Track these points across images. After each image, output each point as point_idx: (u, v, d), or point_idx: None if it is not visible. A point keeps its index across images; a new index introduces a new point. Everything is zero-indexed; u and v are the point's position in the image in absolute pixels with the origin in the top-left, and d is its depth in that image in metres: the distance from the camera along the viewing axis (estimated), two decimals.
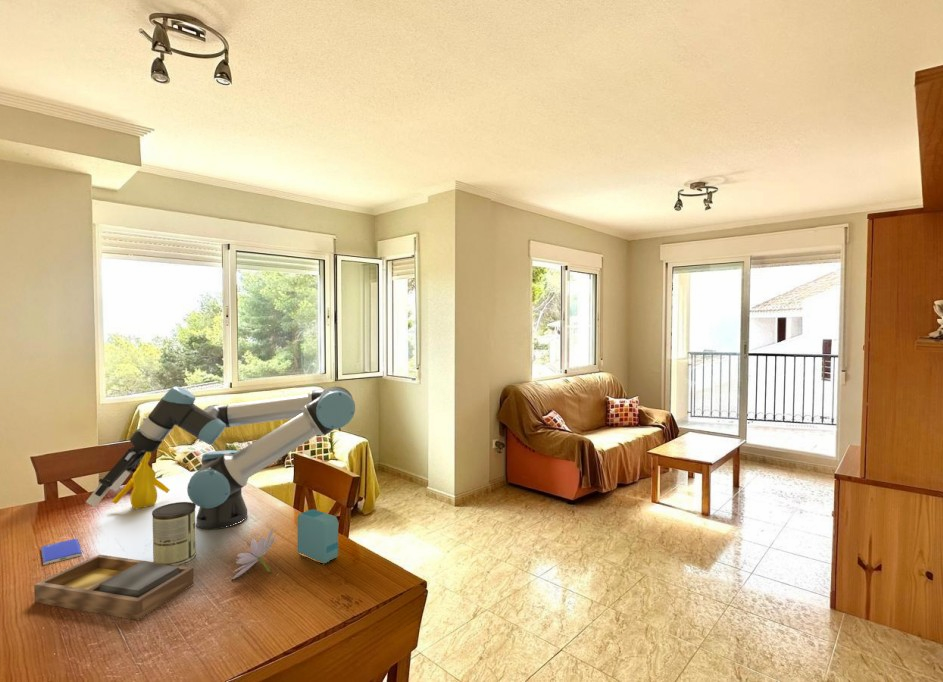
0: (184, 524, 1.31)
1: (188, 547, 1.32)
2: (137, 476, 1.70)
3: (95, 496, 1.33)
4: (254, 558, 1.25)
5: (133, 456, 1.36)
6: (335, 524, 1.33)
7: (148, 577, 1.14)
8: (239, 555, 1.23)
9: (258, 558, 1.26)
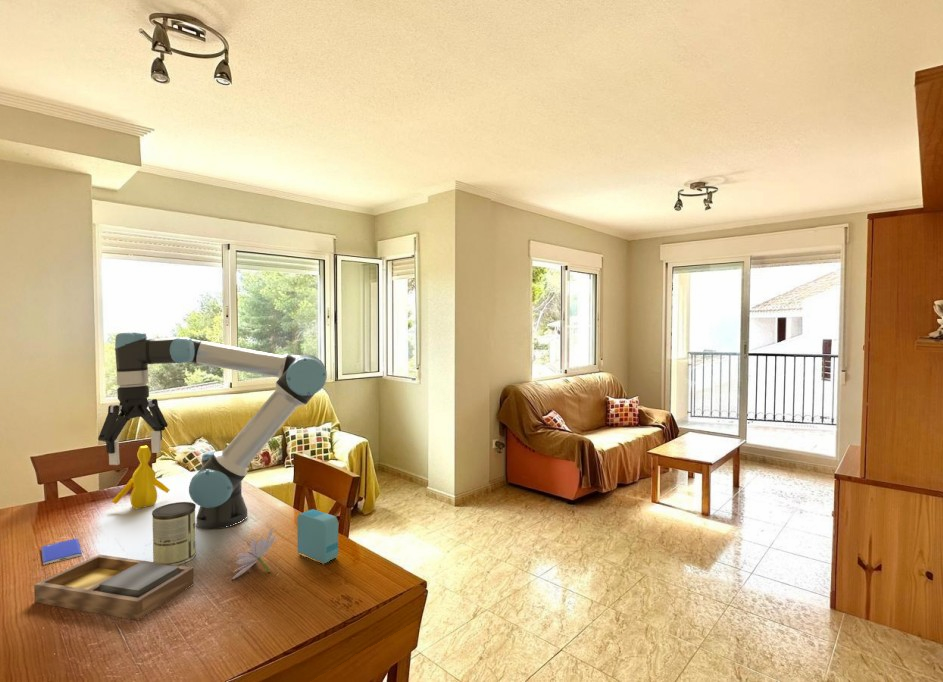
0: (184, 524, 1.31)
1: (188, 547, 1.32)
2: (137, 476, 1.70)
3: (112, 455, 1.34)
4: (254, 558, 1.25)
5: (115, 406, 1.34)
6: (335, 524, 1.33)
7: (148, 577, 1.14)
8: (239, 555, 1.23)
9: (258, 558, 1.26)
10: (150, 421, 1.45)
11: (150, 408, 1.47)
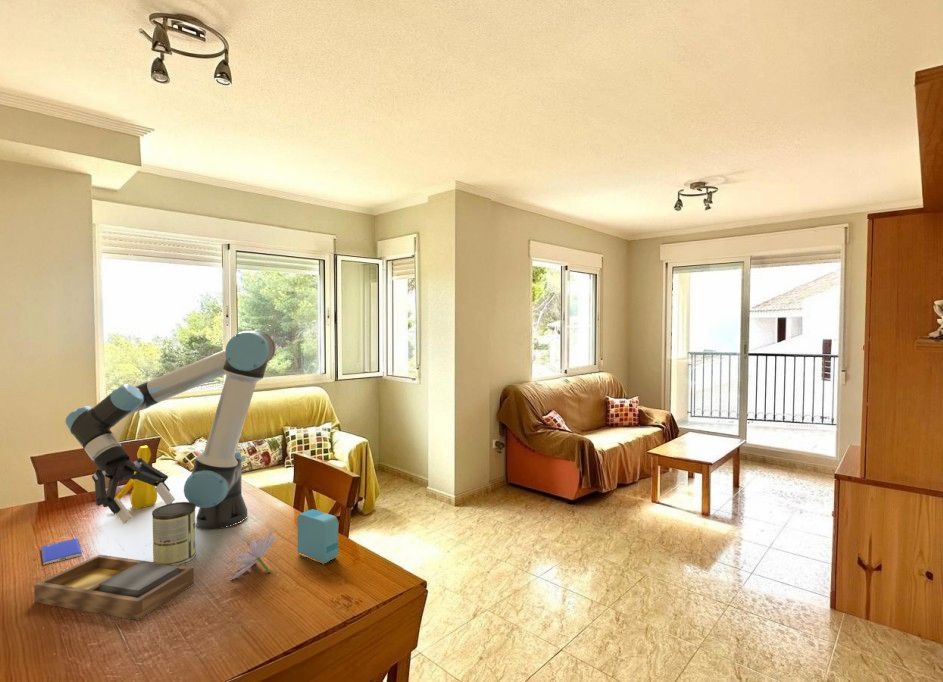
0: (184, 524, 1.31)
1: (188, 547, 1.32)
2: None
3: (120, 514, 1.28)
4: (253, 558, 1.25)
5: (96, 471, 1.30)
6: (335, 524, 1.33)
7: (148, 577, 1.14)
8: (238, 555, 1.23)
9: (257, 558, 1.26)
10: (146, 477, 1.41)
11: (141, 469, 1.43)
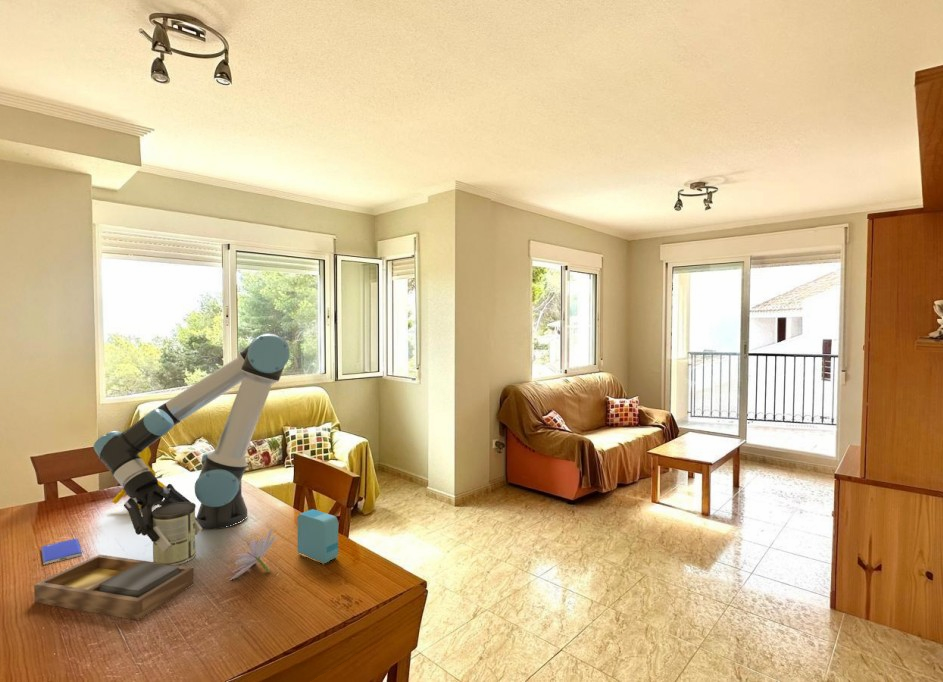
0: (184, 524, 1.31)
1: (188, 547, 1.32)
2: None
3: (159, 542, 1.28)
4: (253, 559, 1.24)
5: (128, 500, 1.29)
6: (335, 524, 1.33)
7: (148, 577, 1.14)
8: (238, 555, 1.23)
9: (257, 559, 1.26)
10: None
11: (169, 495, 1.41)
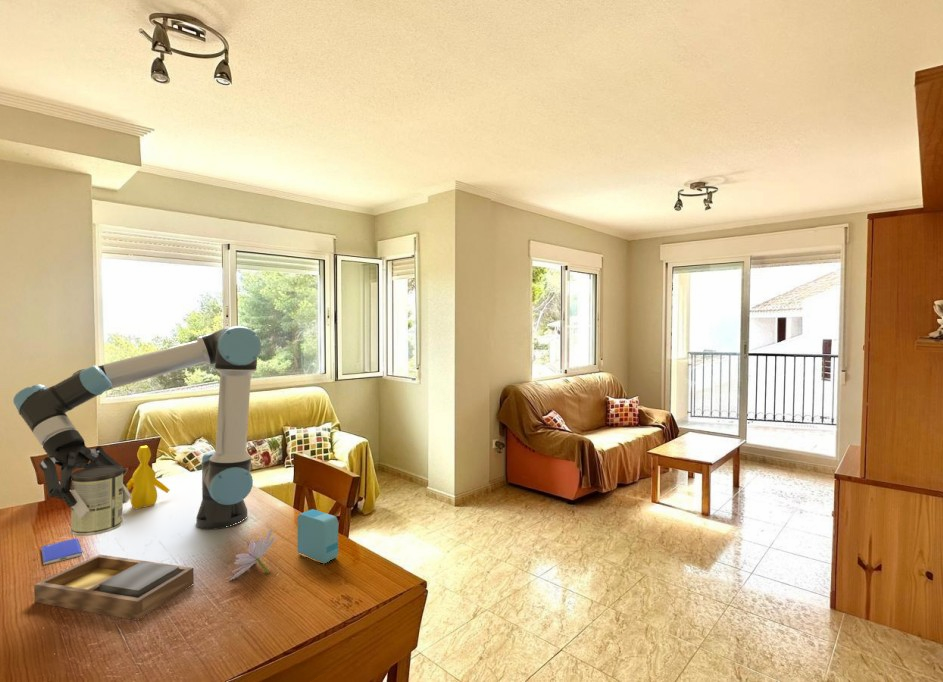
0: (107, 488, 1.17)
1: (111, 514, 1.18)
2: (137, 476, 1.70)
3: (77, 507, 1.13)
4: (252, 559, 1.24)
5: (44, 459, 1.14)
6: (335, 524, 1.33)
7: (148, 577, 1.14)
8: (237, 556, 1.23)
9: (257, 559, 1.26)
10: None
11: (97, 459, 1.26)
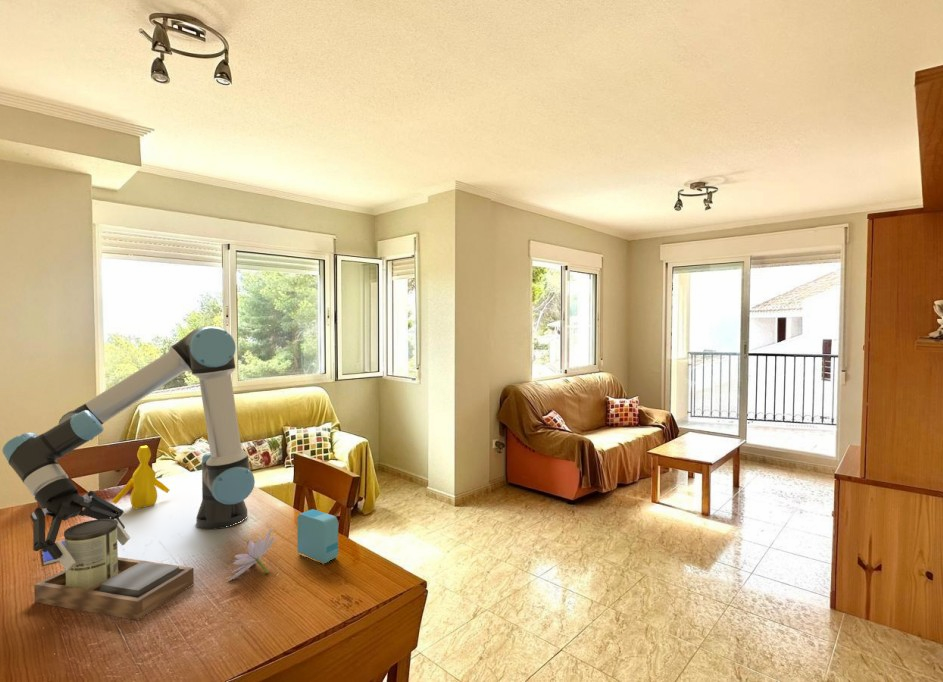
0: (101, 545, 1.15)
1: (106, 571, 1.16)
2: (137, 476, 1.70)
3: (62, 559, 1.11)
4: (252, 559, 1.24)
5: (35, 510, 1.13)
6: (335, 524, 1.33)
7: (148, 577, 1.14)
8: (236, 556, 1.23)
9: (256, 559, 1.25)
10: (97, 513, 1.23)
11: (91, 503, 1.25)
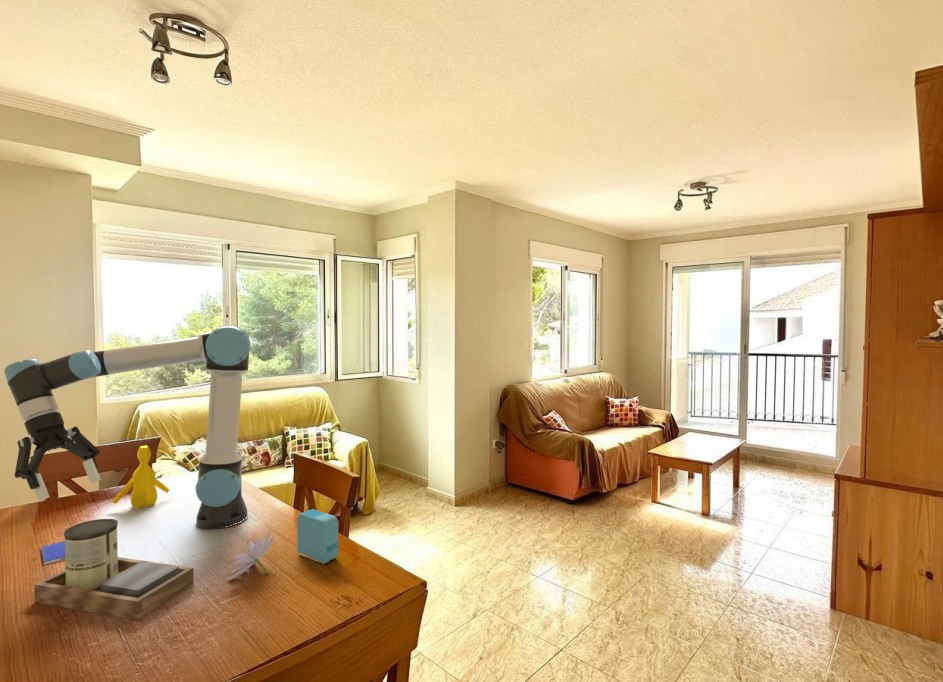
0: (101, 545, 1.15)
1: (106, 571, 1.16)
2: (137, 476, 1.70)
3: (38, 491, 1.21)
4: (251, 560, 1.24)
5: (24, 438, 1.22)
6: (335, 524, 1.33)
7: (148, 577, 1.14)
8: (236, 556, 1.23)
9: (255, 560, 1.25)
10: (76, 450, 1.33)
11: (73, 438, 1.34)
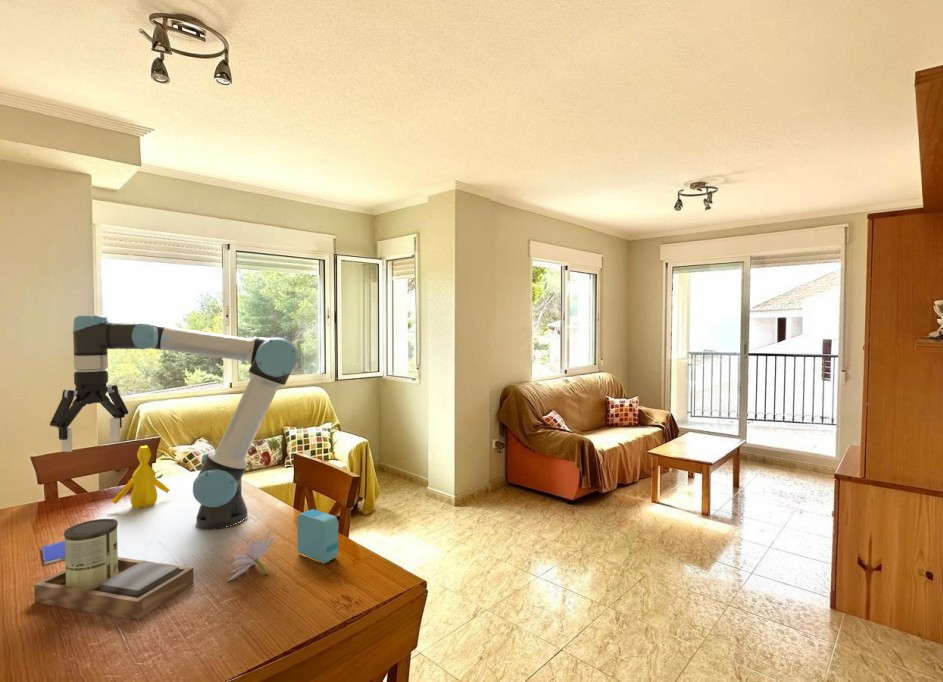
0: (101, 545, 1.15)
1: (106, 571, 1.16)
2: (137, 476, 1.70)
3: (64, 442, 1.29)
4: (251, 560, 1.24)
5: (69, 391, 1.29)
6: (335, 524, 1.33)
7: (148, 577, 1.14)
8: (235, 556, 1.23)
9: (255, 560, 1.25)
10: (109, 408, 1.40)
11: (110, 394, 1.42)
